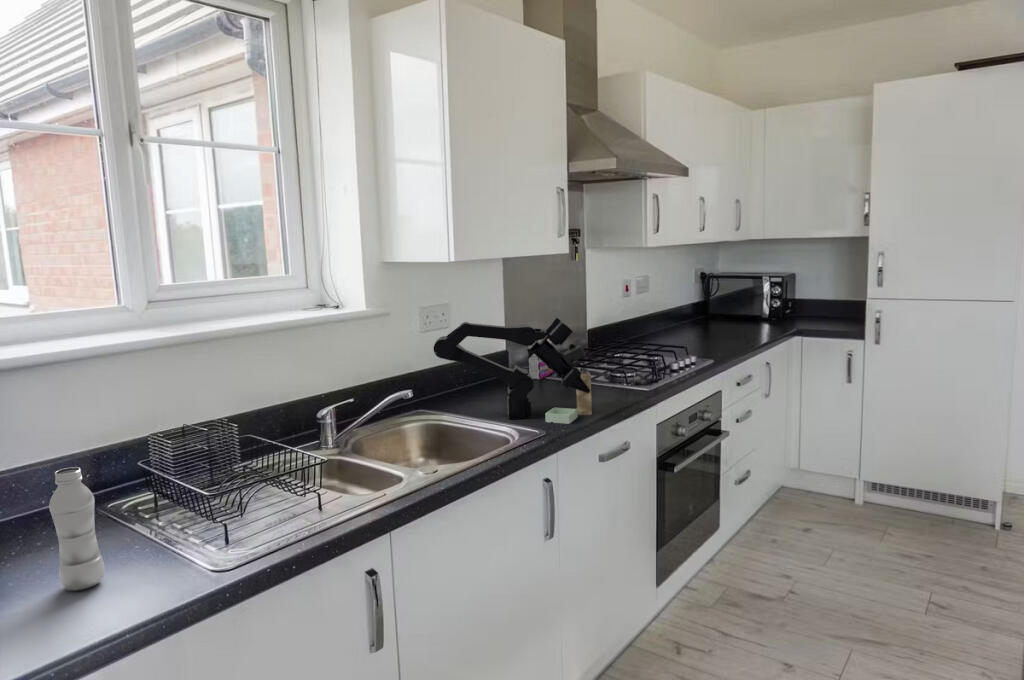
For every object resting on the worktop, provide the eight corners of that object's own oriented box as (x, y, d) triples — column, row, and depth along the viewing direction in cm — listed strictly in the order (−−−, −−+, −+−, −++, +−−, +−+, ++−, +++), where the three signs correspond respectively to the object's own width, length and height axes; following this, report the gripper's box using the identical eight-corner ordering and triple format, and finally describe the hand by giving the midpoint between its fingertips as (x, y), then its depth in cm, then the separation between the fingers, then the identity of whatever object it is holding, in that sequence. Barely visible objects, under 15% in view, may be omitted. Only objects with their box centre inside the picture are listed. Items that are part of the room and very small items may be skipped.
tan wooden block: (578, 415, 211) (577, 376, 210) (576, 412, 215) (575, 373, 214) (591, 414, 212) (590, 375, 210) (589, 411, 215) (588, 373, 214)
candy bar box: (543, 373, 278) (541, 332, 275) (554, 374, 275) (552, 333, 272) (528, 378, 268) (526, 336, 266) (539, 379, 266) (538, 337, 263)
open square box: (545, 422, 205) (545, 413, 205) (554, 415, 212) (554, 407, 212) (569, 423, 202) (569, 415, 202) (577, 417, 209) (577, 408, 209)
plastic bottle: (68, 600, 112) (51, 480, 109) (55, 587, 116) (38, 472, 114) (112, 584, 117) (96, 469, 114) (98, 572, 121) (82, 461, 118)
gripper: (572, 341, 201) (611, 377, 203) (565, 332, 219) (601, 365, 221) (546, 369, 202) (585, 405, 203) (541, 358, 220) (577, 391, 222)
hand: (588, 390), depth 212 cm, fingers closed on tan wooden block, 4 cm apart
